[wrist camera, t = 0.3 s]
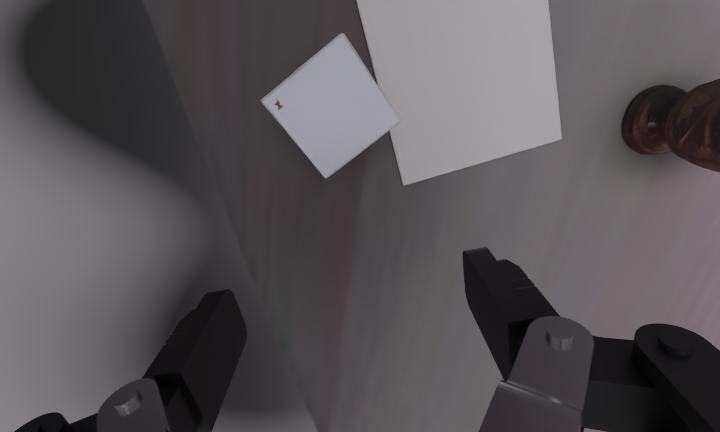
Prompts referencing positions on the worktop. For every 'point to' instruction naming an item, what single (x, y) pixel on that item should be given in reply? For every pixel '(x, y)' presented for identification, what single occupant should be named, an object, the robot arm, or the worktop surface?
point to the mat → (463, 79)
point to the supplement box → (332, 107)
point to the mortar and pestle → (677, 123)
